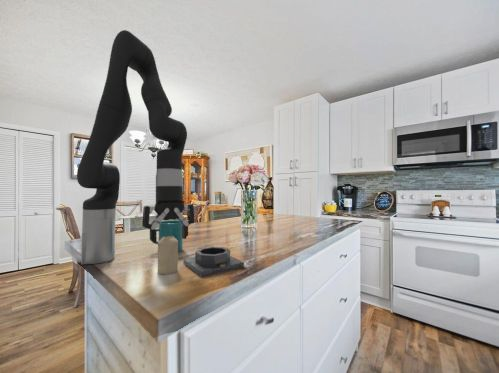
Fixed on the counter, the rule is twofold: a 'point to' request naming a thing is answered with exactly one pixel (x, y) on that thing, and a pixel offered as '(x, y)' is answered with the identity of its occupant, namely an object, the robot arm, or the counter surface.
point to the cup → (171, 231)
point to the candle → (167, 255)
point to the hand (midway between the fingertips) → (169, 240)
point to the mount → (212, 261)
